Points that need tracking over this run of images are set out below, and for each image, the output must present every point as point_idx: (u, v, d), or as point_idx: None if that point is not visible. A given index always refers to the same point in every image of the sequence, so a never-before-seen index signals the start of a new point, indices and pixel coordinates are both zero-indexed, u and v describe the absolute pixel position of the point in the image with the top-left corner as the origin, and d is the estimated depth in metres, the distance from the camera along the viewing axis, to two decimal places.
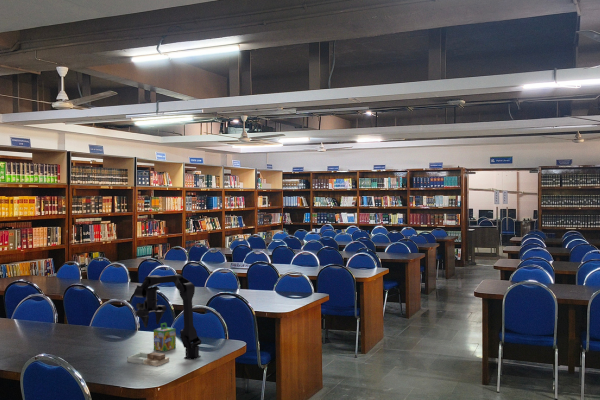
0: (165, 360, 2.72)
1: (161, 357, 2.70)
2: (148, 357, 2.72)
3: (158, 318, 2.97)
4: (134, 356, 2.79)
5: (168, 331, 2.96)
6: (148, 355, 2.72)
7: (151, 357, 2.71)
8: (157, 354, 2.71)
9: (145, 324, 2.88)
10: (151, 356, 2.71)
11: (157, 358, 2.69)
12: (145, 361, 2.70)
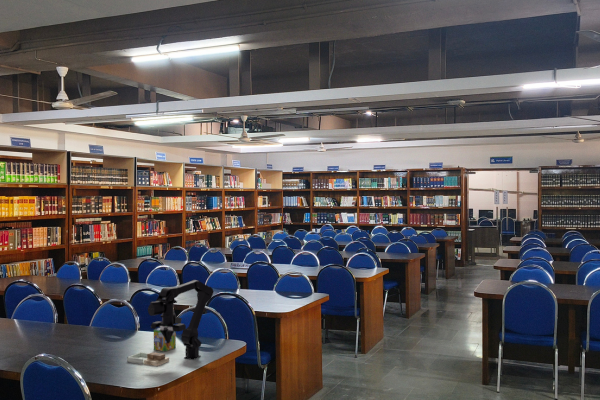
0: (165, 360, 2.72)
1: (161, 357, 2.70)
2: (148, 357, 2.72)
3: None
4: (134, 356, 2.79)
5: None
6: (148, 355, 2.72)
7: (151, 357, 2.71)
8: (157, 354, 2.71)
9: None
10: (151, 356, 2.71)
11: (157, 358, 2.69)
12: (145, 361, 2.70)
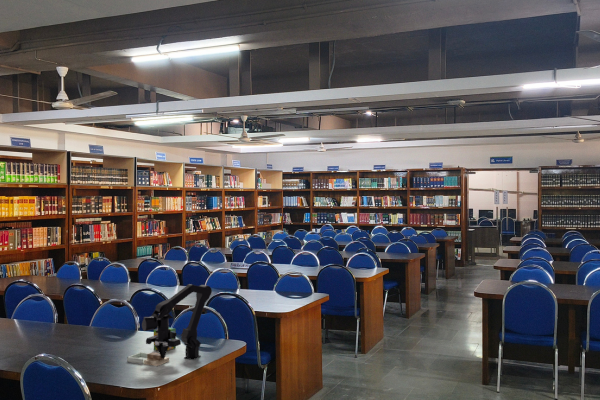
0: (165, 360, 2.72)
1: (160, 357, 2.70)
2: (148, 357, 2.72)
3: None
4: (134, 356, 2.79)
5: None
6: (148, 355, 2.72)
7: (151, 357, 2.71)
8: (156, 354, 2.72)
9: None
10: (151, 356, 2.71)
11: (156, 358, 2.70)
12: (145, 361, 2.70)
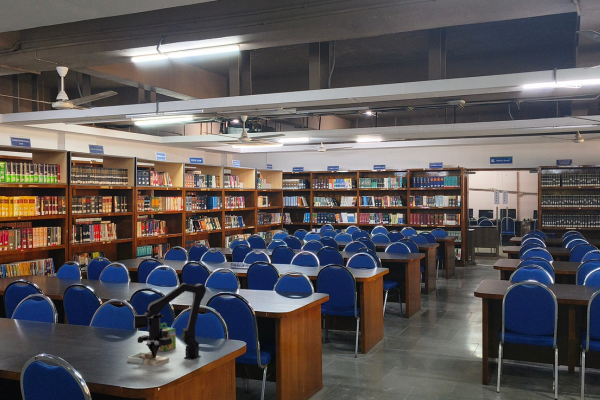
0: (165, 360, 2.72)
1: (152, 356, 2.72)
2: None
3: None
4: (134, 356, 2.79)
5: (168, 331, 2.96)
6: (140, 357, 2.75)
7: (143, 359, 2.74)
8: (148, 353, 2.74)
9: None
10: (143, 357, 2.74)
11: (148, 357, 2.72)
12: (145, 361, 2.70)
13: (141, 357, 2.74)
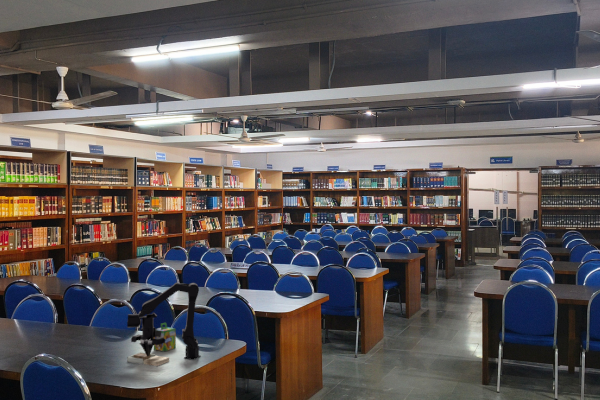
0: (165, 360, 2.72)
1: (146, 358, 2.74)
2: None
3: None
4: None
5: (168, 331, 2.96)
6: (134, 356, 2.76)
7: None
8: (142, 355, 2.76)
9: None
10: (137, 357, 2.75)
11: None
12: (145, 361, 2.70)
13: (136, 356, 2.76)
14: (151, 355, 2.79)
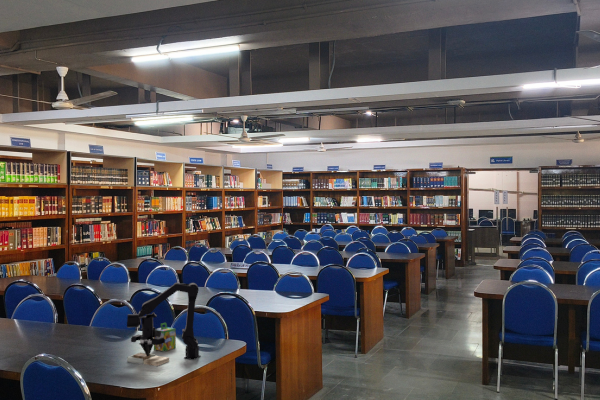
0: (165, 360, 2.72)
1: (146, 358, 2.74)
2: None
3: None
4: None
5: (168, 331, 2.96)
6: (134, 356, 2.76)
7: None
8: (142, 355, 2.76)
9: None
10: (137, 357, 2.75)
11: None
12: (145, 361, 2.70)
13: (135, 356, 2.76)
14: (151, 355, 2.79)
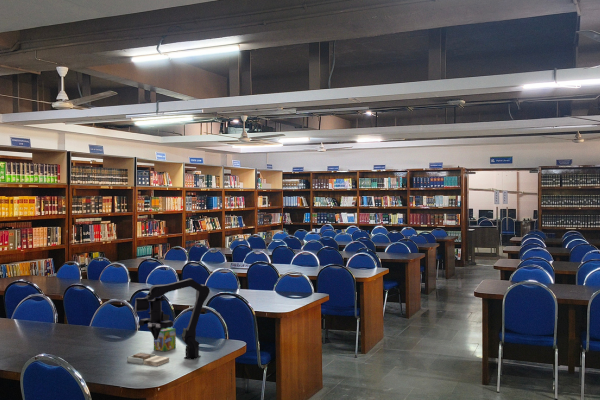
0: (165, 360, 2.72)
1: (146, 358, 2.74)
2: None
3: None
4: None
5: (168, 331, 2.96)
6: (134, 356, 2.76)
7: None
8: (142, 355, 2.76)
9: None
10: (137, 357, 2.75)
11: None
12: (145, 361, 2.70)
13: (135, 356, 2.76)
14: (151, 355, 2.79)
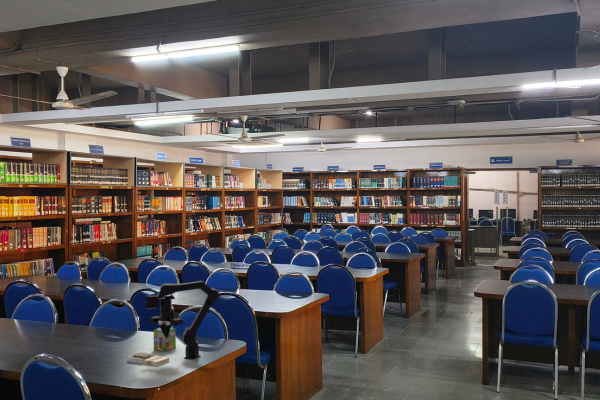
0: (165, 360, 2.72)
1: (146, 358, 2.74)
2: None
3: None
4: None
5: None
6: (134, 356, 2.76)
7: None
8: (142, 355, 2.76)
9: None
10: (137, 357, 2.75)
11: None
12: (145, 361, 2.70)
13: (135, 356, 2.76)
14: (151, 355, 2.79)
